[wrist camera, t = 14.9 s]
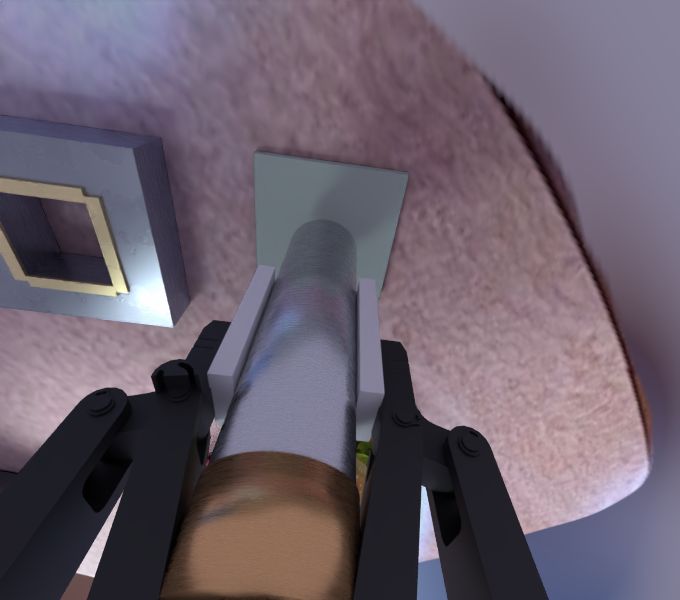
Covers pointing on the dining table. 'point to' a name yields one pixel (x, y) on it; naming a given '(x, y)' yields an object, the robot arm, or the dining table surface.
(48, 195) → the plate
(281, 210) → the rest pad
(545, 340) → the dining table surface
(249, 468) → the key peg
